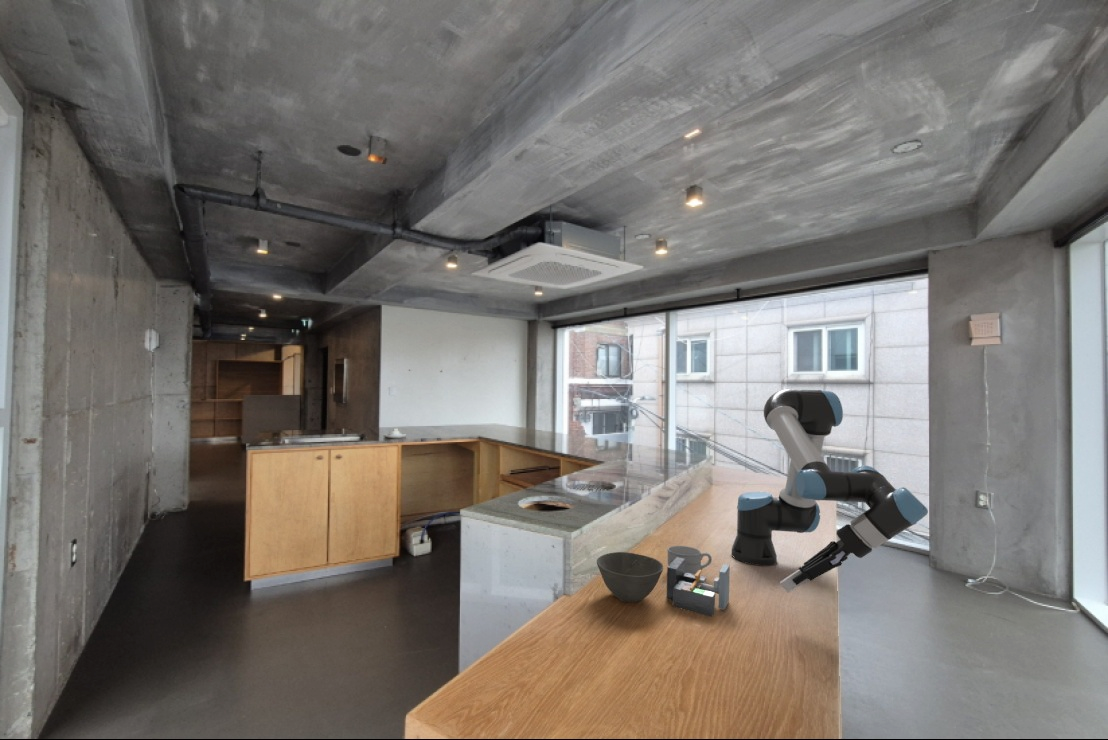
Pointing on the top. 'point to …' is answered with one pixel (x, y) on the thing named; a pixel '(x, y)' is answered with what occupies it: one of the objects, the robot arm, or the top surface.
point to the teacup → (688, 558)
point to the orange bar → (696, 579)
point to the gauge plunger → (720, 586)
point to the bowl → (629, 574)
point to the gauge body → (688, 590)
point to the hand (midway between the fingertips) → (784, 587)
